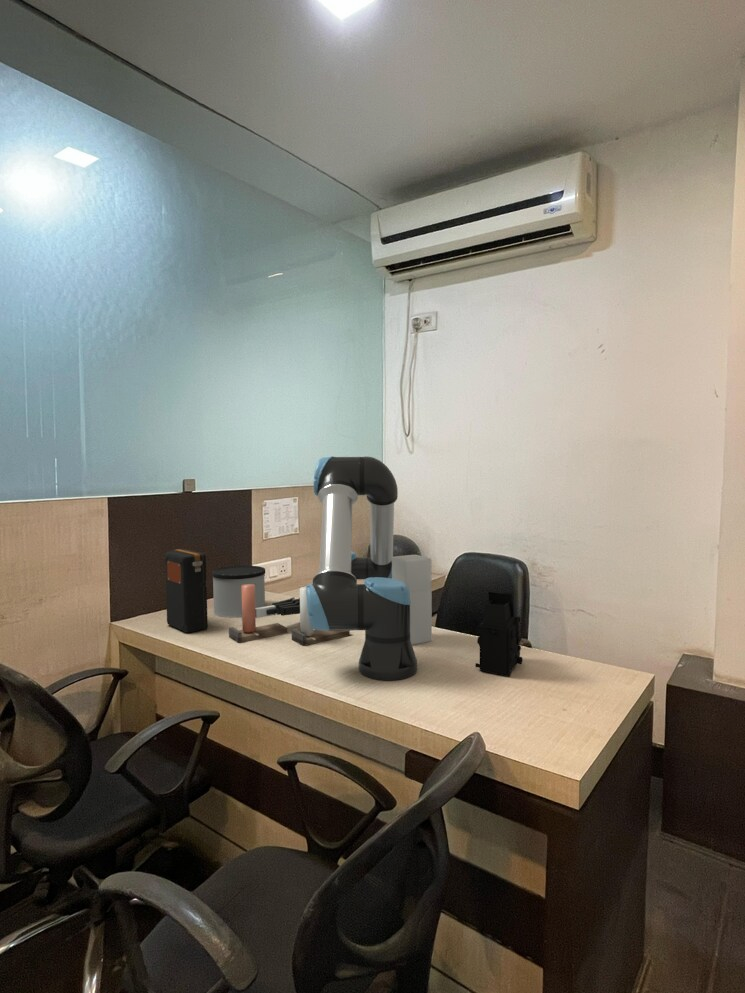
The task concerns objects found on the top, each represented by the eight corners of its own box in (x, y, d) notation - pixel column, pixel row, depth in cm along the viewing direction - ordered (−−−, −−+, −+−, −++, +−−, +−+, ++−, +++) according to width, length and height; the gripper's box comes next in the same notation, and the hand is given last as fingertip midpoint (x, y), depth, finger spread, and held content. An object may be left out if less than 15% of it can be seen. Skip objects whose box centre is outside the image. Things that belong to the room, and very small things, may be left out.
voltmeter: (211, 629, 178) (209, 552, 177) (186, 635, 172) (183, 556, 171) (188, 619, 189) (186, 547, 188) (163, 625, 183) (161, 550, 182)
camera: (527, 662, 147) (528, 587, 146) (512, 679, 135) (513, 598, 134) (491, 655, 152) (491, 583, 151) (473, 671, 140) (474, 593, 139)
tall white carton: (391, 637, 168) (391, 556, 167) (416, 633, 172) (416, 554, 171) (406, 646, 160) (406, 561, 159) (432, 641, 164) (431, 558, 163)
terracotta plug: (252, 627, 173) (251, 583, 172) (257, 630, 170) (256, 585, 169) (240, 630, 170) (239, 585, 170) (245, 633, 167) (244, 587, 166)
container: (231, 621, 188) (230, 577, 187) (202, 611, 201) (201, 570, 200) (276, 610, 201) (275, 569, 200) (247, 601, 214) (246, 563, 213)
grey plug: (309, 631, 169) (309, 586, 168) (316, 634, 166) (315, 588, 165) (298, 633, 166) (297, 587, 166) (304, 636, 163) (303, 590, 162)
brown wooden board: (335, 629, 177) (335, 619, 177) (351, 636, 170) (351, 626, 170) (290, 639, 168) (289, 629, 167) (304, 646, 160) (304, 636, 160)
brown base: (276, 626, 180) (276, 617, 180) (289, 633, 173) (288, 624, 173) (227, 636, 171) (227, 626, 171) (239, 643, 164) (239, 633, 163)
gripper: (331, 616, 180) (264, 630, 166) (311, 608, 190) (247, 620, 177) (331, 594, 179) (264, 605, 166) (311, 587, 190) (246, 597, 176)
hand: (255, 613), depth 171 cm, fingers closed
